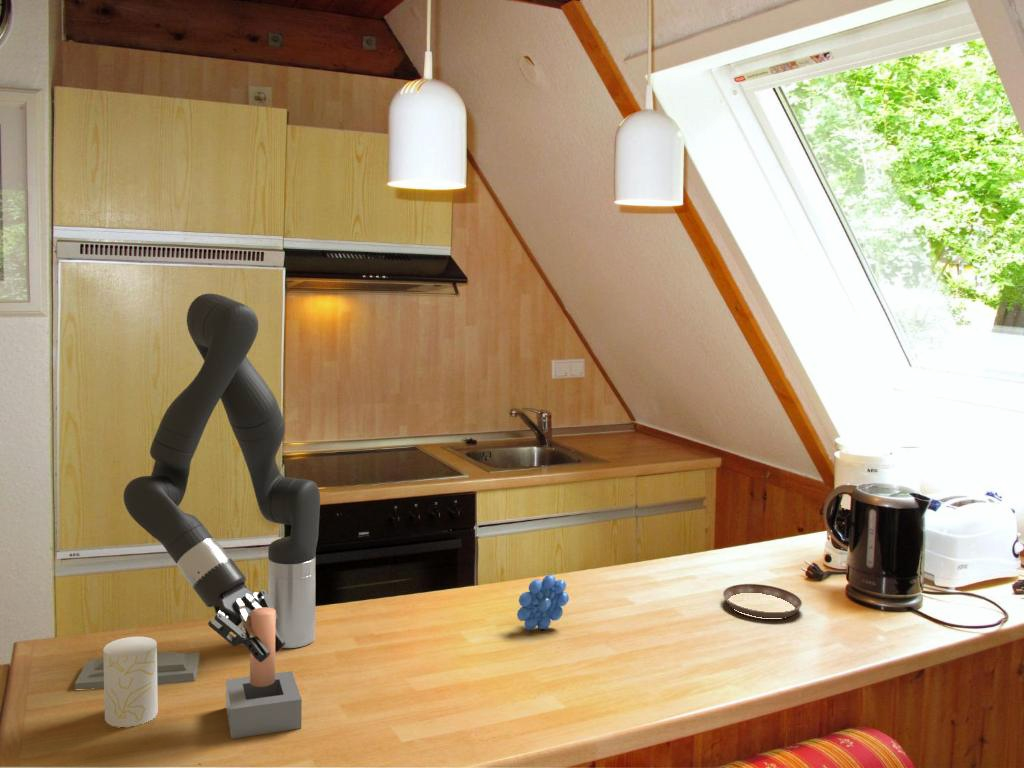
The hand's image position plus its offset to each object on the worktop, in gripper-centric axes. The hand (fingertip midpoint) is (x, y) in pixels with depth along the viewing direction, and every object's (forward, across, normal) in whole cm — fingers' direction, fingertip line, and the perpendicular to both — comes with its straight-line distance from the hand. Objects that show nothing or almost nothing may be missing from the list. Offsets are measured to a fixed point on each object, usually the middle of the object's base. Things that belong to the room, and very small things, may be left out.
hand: (273, 652), depth 149 cm
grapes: (+29, +56, -13) cm, 64 cm away
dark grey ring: (+60, +87, -44) cm, 115 cm away
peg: (+2, 0, +5) cm, 6 cm away
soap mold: (-14, +6, +31) cm, 35 cm away
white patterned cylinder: (-7, -7, +24) cm, 26 cm away
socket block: (+7, 0, +10) cm, 12 cm away
